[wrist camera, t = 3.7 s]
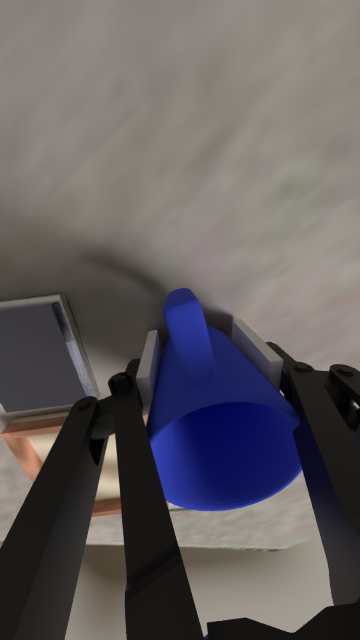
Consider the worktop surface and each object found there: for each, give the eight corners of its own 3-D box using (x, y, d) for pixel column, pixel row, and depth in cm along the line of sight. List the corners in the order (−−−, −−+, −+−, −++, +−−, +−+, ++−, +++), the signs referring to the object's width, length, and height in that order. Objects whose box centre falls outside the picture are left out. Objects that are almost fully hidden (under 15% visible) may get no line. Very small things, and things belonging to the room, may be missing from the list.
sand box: (15, 418, 20) (0, 434, 18) (147, 401, 20) (145, 415, 18) (66, 503, 25) (59, 521, 24) (168, 489, 26) (168, 506, 24)
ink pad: (-43, 306, 15) (-64, 311, 14) (64, 292, 15) (54, 296, 14) (15, 405, 19) (3, 417, 18) (100, 394, 19) (95, 405, 18)
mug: (222, 259, 15) (311, 273, 5) (243, 374, 19) (313, 492, 10) (128, 287, 15) (60, 345, 6) (169, 394, 19) (169, 525, 10)
